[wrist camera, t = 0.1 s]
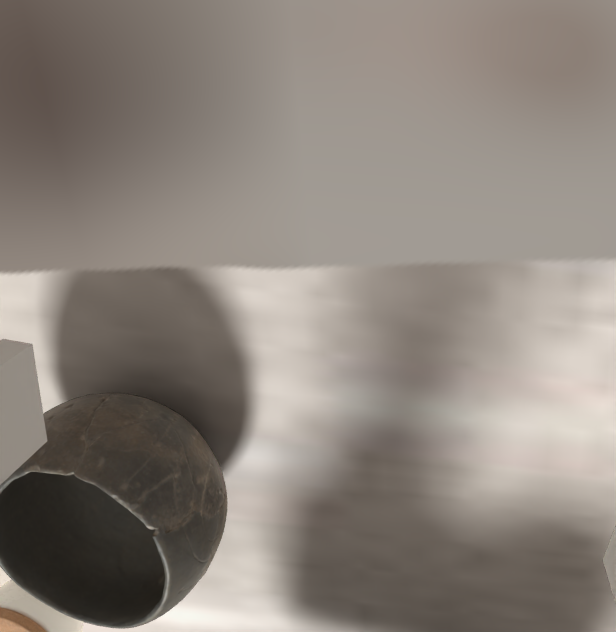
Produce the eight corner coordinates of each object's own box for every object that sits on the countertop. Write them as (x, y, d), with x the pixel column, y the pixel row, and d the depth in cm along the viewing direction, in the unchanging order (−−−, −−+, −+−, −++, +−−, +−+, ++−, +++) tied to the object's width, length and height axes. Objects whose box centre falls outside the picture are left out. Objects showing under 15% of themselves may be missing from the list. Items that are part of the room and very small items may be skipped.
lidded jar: (1, 548, 62) (-69, 624, 53) (87, 557, 59) (27, 638, 51) (30, 619, 66) (-31, 699, 57) (112, 630, 63) (61, 716, 55)
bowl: (253, 381, 46) (190, 484, 35) (247, 545, 53) (193, 674, 42) (56, 345, 49) (-62, 428, 38) (76, 505, 56) (-17, 615, 45)
